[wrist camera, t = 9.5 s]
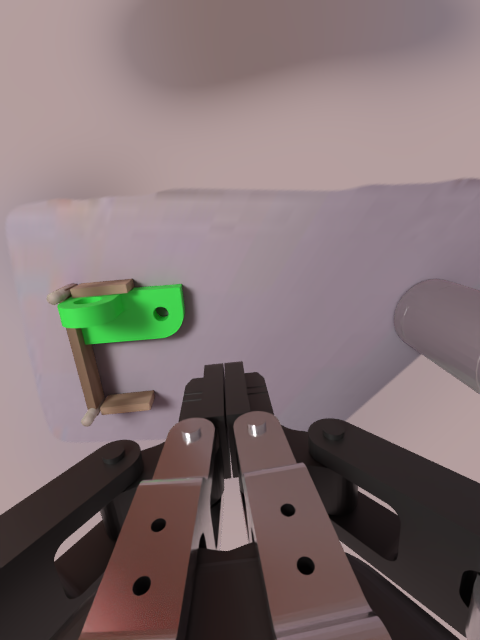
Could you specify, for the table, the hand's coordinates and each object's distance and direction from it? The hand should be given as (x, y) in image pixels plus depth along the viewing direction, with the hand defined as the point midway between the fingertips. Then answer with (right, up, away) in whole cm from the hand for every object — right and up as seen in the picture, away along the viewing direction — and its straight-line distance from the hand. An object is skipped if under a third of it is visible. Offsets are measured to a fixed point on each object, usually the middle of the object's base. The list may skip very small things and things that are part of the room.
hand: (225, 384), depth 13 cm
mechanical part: (-12, +4, +27) cm, 30 cm away
